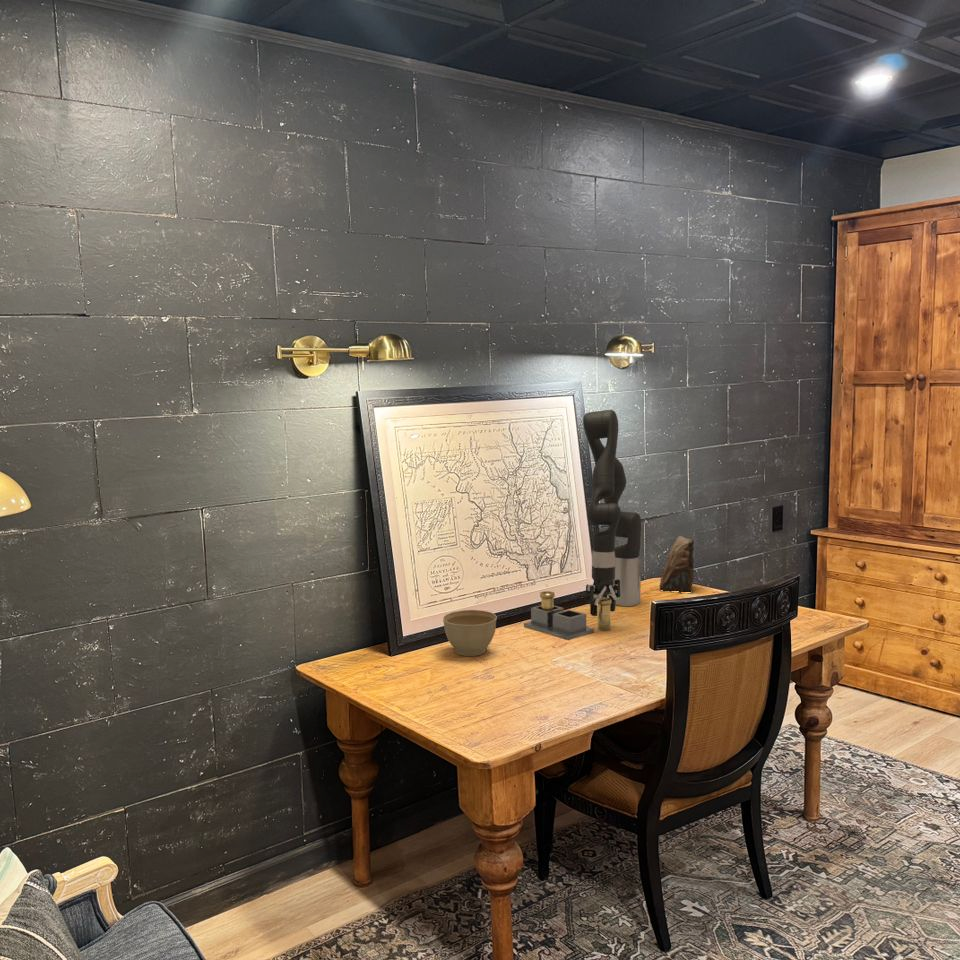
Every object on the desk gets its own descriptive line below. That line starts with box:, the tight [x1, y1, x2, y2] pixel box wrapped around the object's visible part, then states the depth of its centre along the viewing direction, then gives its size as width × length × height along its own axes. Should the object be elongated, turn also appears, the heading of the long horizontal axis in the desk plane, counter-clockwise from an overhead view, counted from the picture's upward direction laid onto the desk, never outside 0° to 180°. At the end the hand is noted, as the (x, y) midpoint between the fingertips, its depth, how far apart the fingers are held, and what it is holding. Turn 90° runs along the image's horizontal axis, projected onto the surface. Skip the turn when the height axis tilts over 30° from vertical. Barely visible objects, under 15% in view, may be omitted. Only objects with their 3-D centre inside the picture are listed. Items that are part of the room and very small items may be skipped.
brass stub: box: [597, 596, 612, 632], centre depth 295 cm, size 5×5×10 cm
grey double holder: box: [523, 590, 595, 641], centre depth 295 cm, size 12×20×11 cm, turn 41°
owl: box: [659, 534, 695, 592], centre depth 344 cm, size 13×13×20 cm
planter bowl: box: [442, 609, 498, 657], centre depth 273 cm, size 16×16×11 cm
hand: (602, 613), depth 295 cm, fingers open, 8 cm apart
